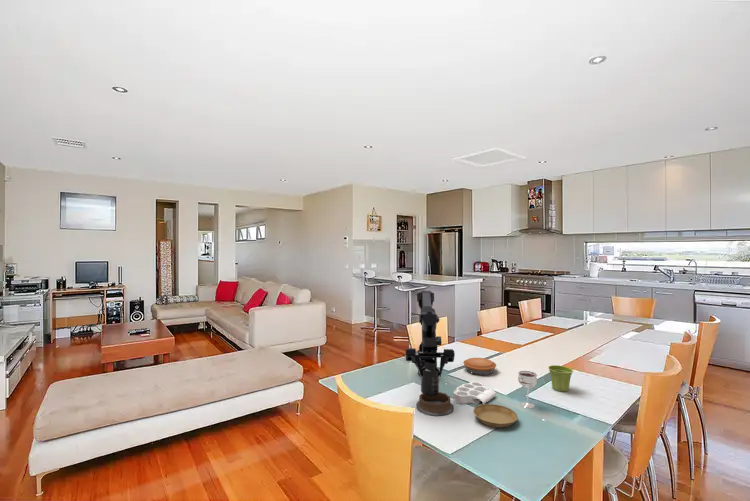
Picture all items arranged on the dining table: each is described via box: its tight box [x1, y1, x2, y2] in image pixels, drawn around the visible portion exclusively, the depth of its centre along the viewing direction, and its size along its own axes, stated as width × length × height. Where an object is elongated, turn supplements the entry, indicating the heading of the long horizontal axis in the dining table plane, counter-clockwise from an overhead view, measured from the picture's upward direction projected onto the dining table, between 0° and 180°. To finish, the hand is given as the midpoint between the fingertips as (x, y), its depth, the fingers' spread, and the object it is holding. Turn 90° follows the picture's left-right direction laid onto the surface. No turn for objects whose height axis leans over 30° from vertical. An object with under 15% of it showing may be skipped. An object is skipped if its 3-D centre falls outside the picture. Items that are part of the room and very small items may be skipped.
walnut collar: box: [415, 391, 455, 417], centre depth 136 cm, size 14×14×4 cm
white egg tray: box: [453, 381, 497, 406], centre depth 145 cm, size 3×18×15 cm
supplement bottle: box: [420, 359, 440, 396], centre depth 136 cm, size 7×7×12 cm
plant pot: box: [547, 364, 574, 392], centre depth 152 cm, size 9×9×9 cm
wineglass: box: [517, 370, 538, 409], centre depth 137 cm, size 7×7×12 cm
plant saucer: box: [472, 403, 519, 428], centre depth 126 cm, size 15×15×3 cm
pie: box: [462, 357, 497, 376], centre depth 175 cm, size 16×16×5 cm
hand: (430, 376), depth 135 cm, fingers closed on supplement bottle, 7 cm apart
